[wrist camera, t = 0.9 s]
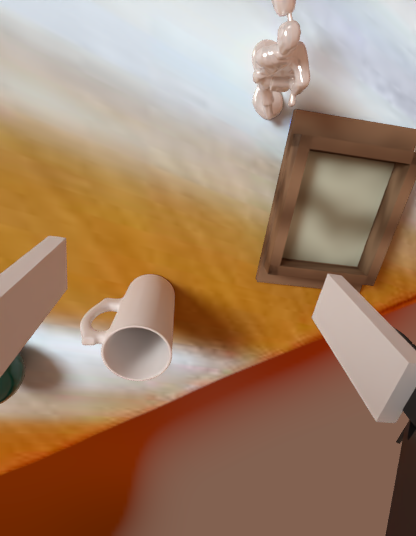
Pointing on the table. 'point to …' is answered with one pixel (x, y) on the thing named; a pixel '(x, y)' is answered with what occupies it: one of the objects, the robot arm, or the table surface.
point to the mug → (136, 329)
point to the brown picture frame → (336, 200)
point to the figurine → (280, 65)
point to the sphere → (12, 378)
